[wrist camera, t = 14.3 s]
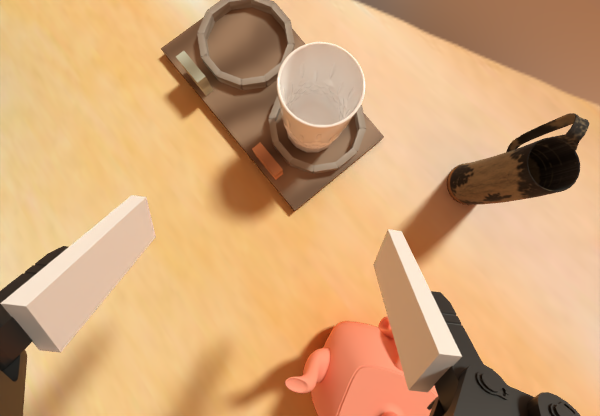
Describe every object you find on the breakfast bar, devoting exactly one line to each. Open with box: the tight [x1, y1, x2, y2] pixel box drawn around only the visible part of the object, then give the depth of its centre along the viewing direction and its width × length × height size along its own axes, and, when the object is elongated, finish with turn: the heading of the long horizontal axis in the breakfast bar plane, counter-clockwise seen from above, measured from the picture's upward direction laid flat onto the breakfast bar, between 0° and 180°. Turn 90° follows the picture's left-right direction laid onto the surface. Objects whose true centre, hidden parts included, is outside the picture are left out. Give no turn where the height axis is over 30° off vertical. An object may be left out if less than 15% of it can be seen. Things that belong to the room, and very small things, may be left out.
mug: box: [447, 114, 589, 205], centre depth 27 cm, size 8×6×12 cm
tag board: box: [161, 0, 384, 211], centre depth 31 cm, size 27×15×4 cm, turn 40°
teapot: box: [285, 317, 438, 416], centre depth 26 cm, size 14×14×11 cm
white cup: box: [277, 42, 365, 152], centre depth 27 cm, size 8×8×10 cm
